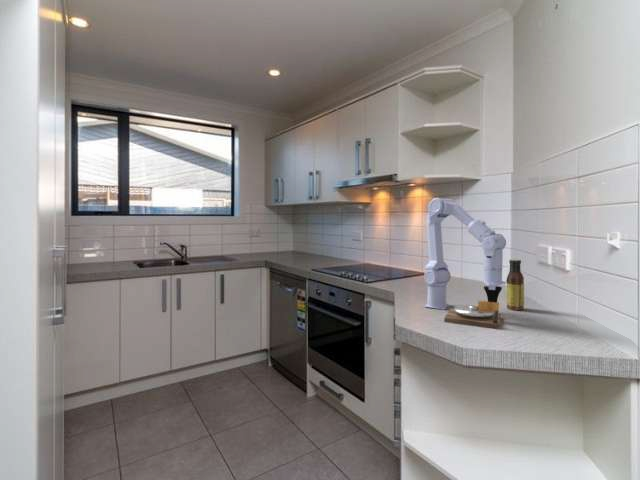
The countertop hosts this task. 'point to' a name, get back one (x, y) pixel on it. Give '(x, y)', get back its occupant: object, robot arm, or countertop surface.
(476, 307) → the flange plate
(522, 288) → the sauce bottle
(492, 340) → the countertop surface
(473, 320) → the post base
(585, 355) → the countertop surface
